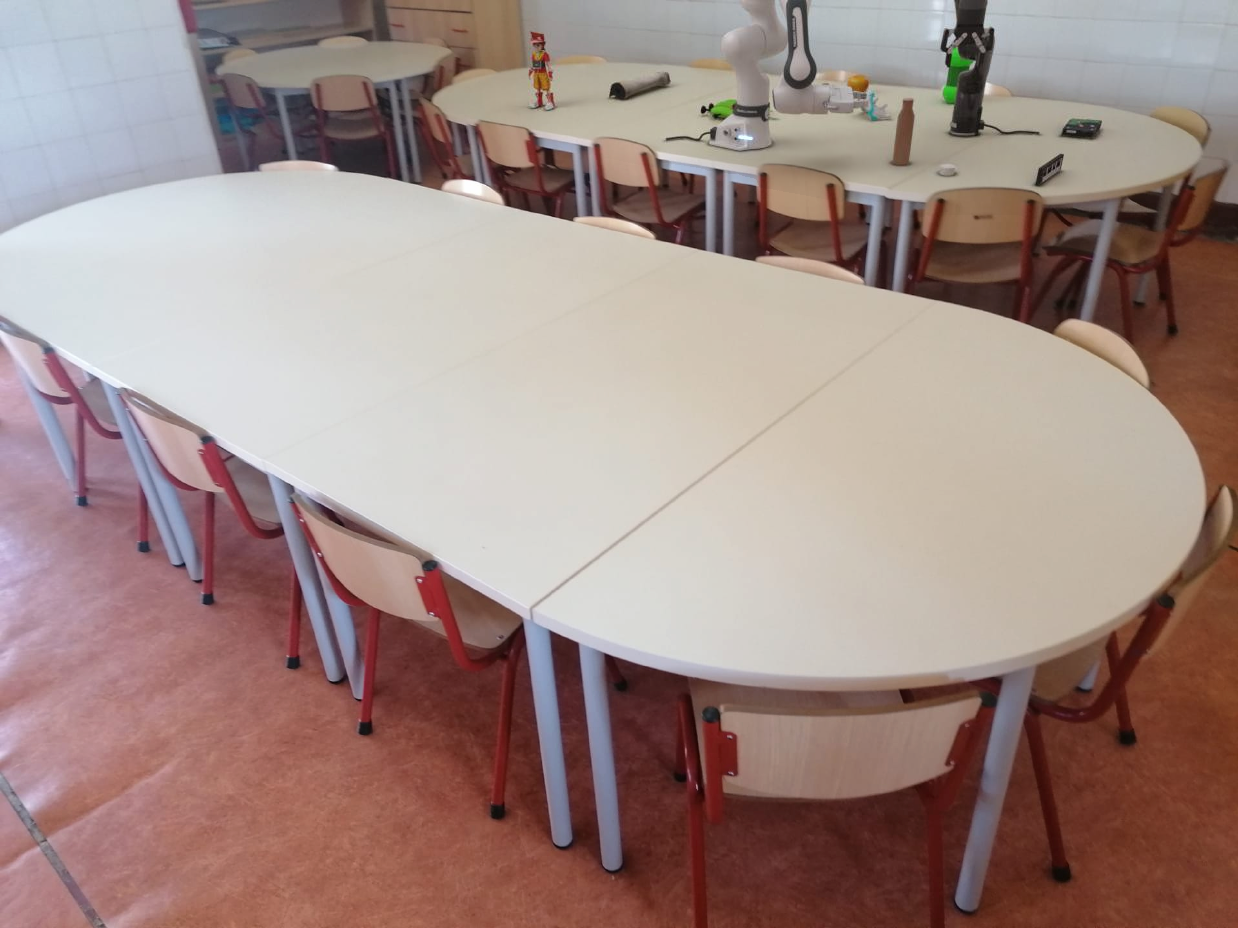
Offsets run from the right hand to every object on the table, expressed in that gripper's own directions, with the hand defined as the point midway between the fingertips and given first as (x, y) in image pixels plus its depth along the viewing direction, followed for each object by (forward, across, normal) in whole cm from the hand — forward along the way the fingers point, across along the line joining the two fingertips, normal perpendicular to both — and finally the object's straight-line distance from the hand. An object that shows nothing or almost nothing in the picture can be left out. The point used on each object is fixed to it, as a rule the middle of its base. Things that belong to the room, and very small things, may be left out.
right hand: (963, 66), depth 265 cm
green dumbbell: (+32, -16, -92) cm, 98 cm away
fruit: (+32, +20, -109) cm, 115 cm away
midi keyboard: (+32, -29, +5) cm, 43 cm away
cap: (+30, 0, 0) cm, 30 cm away
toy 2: (+32, +67, -76) cm, 106 cm away
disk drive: (+32, -51, -45) cm, 75 cm away
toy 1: (+32, +152, -95) cm, 182 cm away
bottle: (+32, +13, -12) cm, 36 cm away
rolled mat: (+32, +113, -120) cm, 168 cm away
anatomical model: (+32, +17, -72) cm, 80 cm away
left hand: (+12, +26, -12) cm, 31 cm away
